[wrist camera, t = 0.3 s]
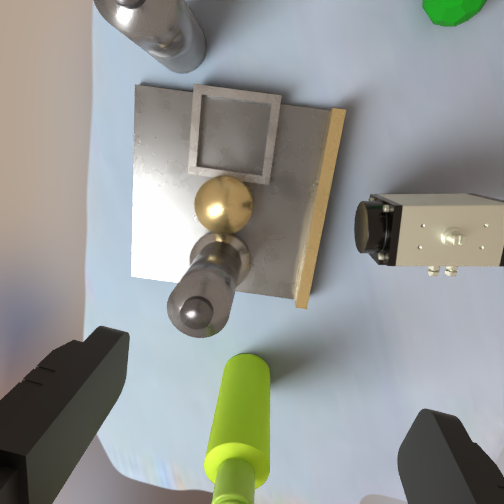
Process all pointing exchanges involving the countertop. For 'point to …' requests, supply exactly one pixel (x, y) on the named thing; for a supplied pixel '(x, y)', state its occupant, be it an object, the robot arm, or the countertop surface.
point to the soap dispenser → (240, 432)
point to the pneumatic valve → (431, 230)
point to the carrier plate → (180, 189)
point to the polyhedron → (451, 10)
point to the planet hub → (159, 30)
